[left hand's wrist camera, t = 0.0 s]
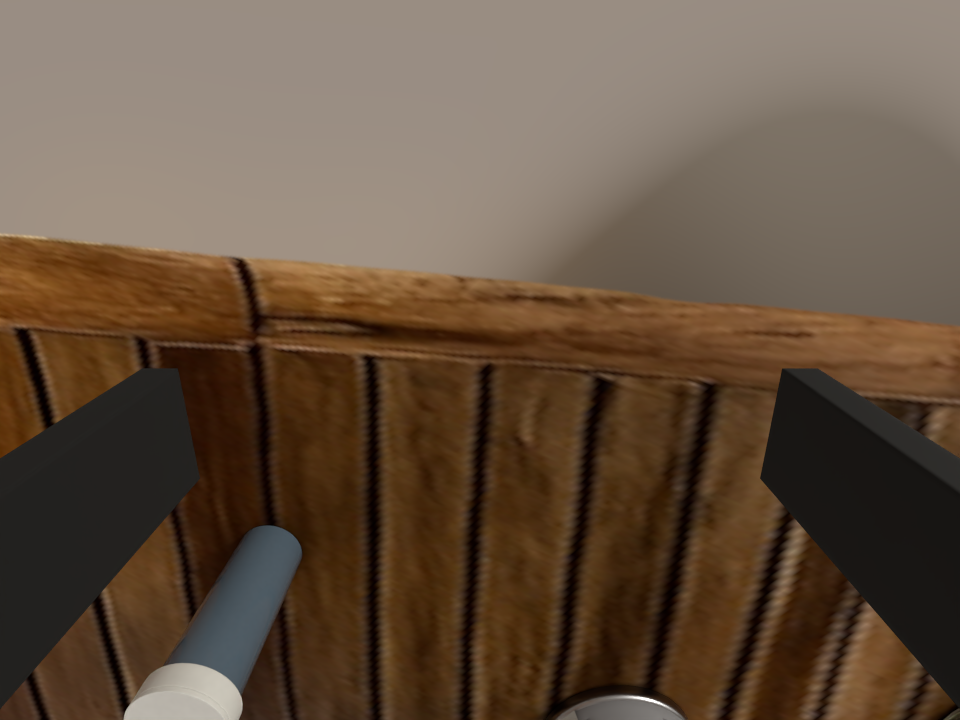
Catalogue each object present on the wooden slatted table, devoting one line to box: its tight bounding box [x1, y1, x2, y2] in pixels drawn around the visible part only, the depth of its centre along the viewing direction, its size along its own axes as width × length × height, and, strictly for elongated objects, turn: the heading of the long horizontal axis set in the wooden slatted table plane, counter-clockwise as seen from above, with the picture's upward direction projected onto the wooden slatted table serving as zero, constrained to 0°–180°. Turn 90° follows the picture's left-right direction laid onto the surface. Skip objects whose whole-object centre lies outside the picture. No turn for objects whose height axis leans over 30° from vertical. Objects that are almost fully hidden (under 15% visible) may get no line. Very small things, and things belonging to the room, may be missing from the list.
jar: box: [163, 525, 302, 695], centre depth 40 cm, size 5×5×15 cm
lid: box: [124, 663, 242, 720], centre depth 34 cm, size 6×6×2 cm
